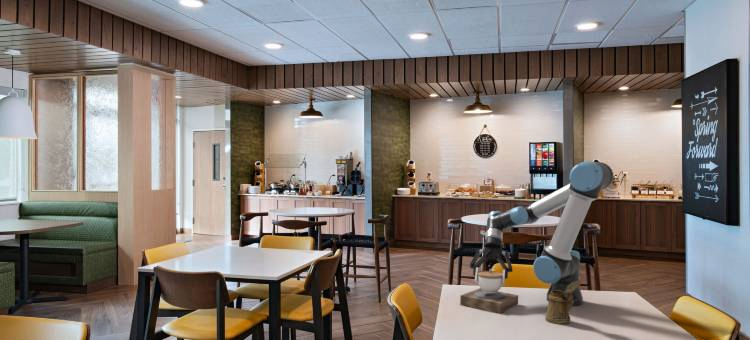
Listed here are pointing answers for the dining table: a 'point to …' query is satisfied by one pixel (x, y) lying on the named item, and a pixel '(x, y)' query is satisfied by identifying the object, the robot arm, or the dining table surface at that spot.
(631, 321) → the dining table surface
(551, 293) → the wooden mug
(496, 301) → the walnut plinth
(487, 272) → the lidded jar
